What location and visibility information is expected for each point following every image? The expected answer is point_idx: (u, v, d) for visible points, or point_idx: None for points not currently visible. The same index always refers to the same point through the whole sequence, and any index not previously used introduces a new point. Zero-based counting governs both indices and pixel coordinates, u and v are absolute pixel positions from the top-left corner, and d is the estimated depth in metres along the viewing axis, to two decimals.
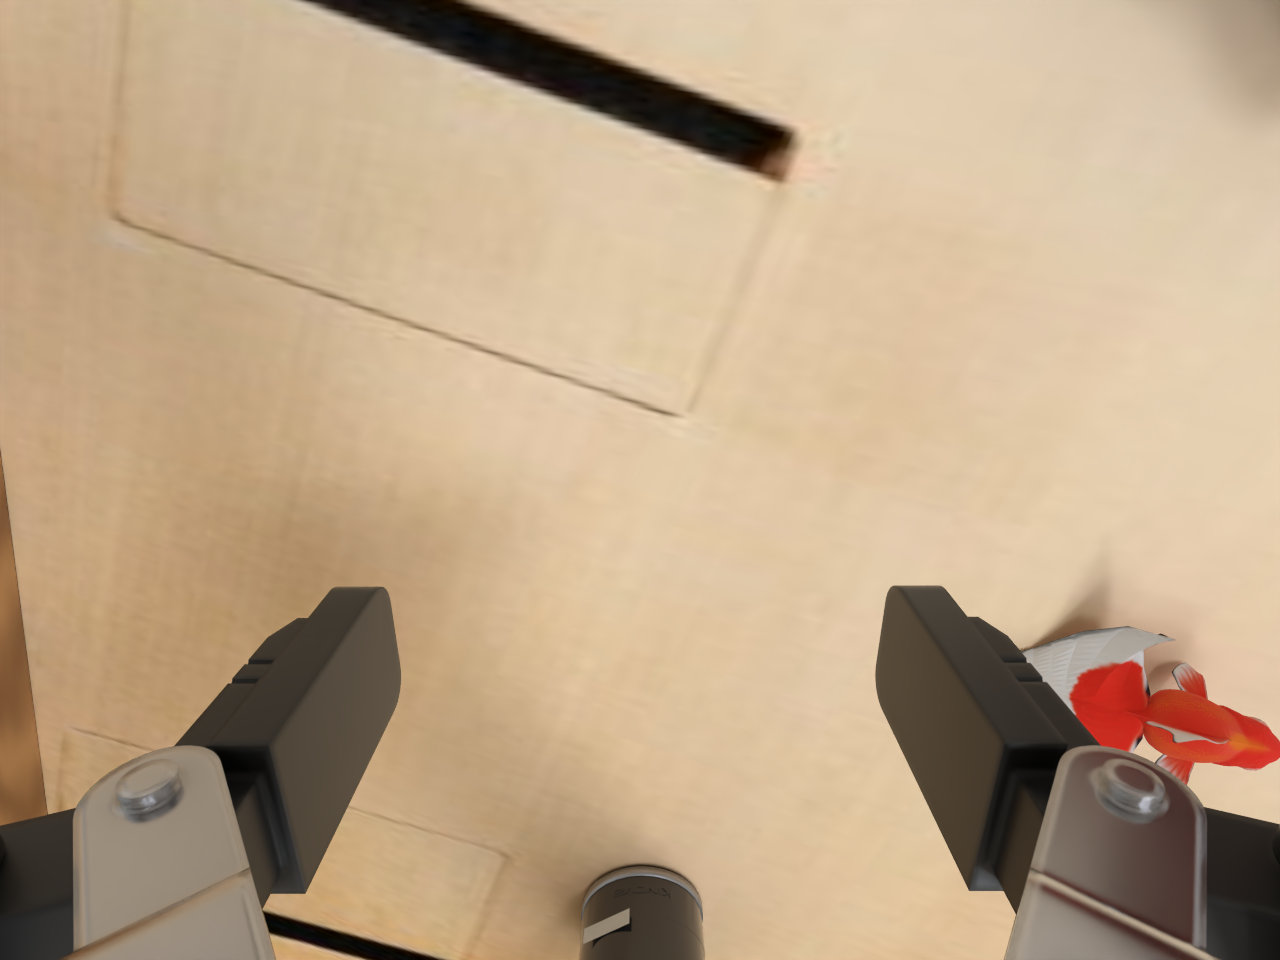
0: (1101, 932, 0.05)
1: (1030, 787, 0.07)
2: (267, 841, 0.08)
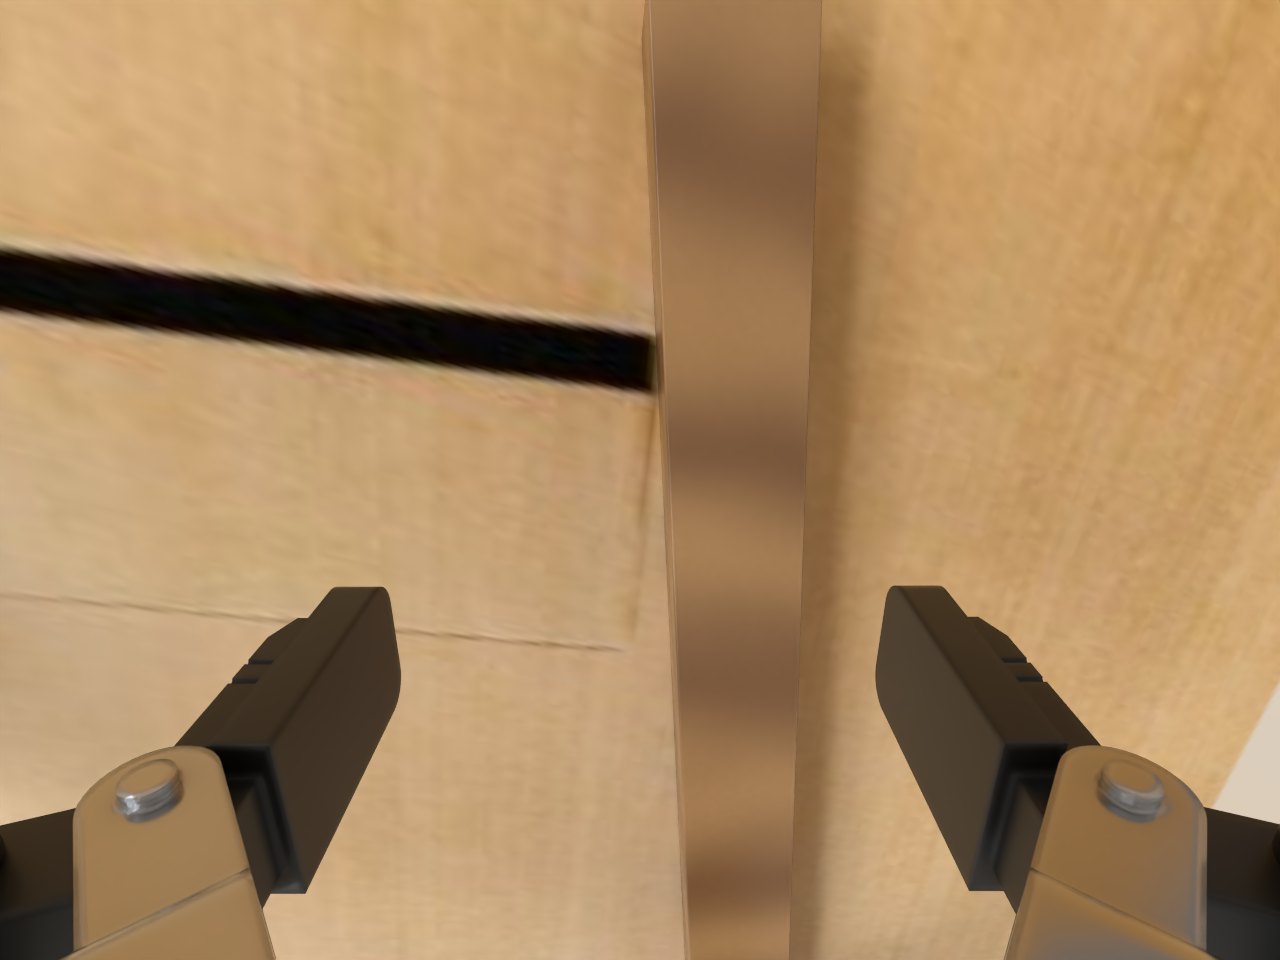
0: (1101, 932, 0.05)
1: (1030, 787, 0.07)
2: (268, 839, 0.08)
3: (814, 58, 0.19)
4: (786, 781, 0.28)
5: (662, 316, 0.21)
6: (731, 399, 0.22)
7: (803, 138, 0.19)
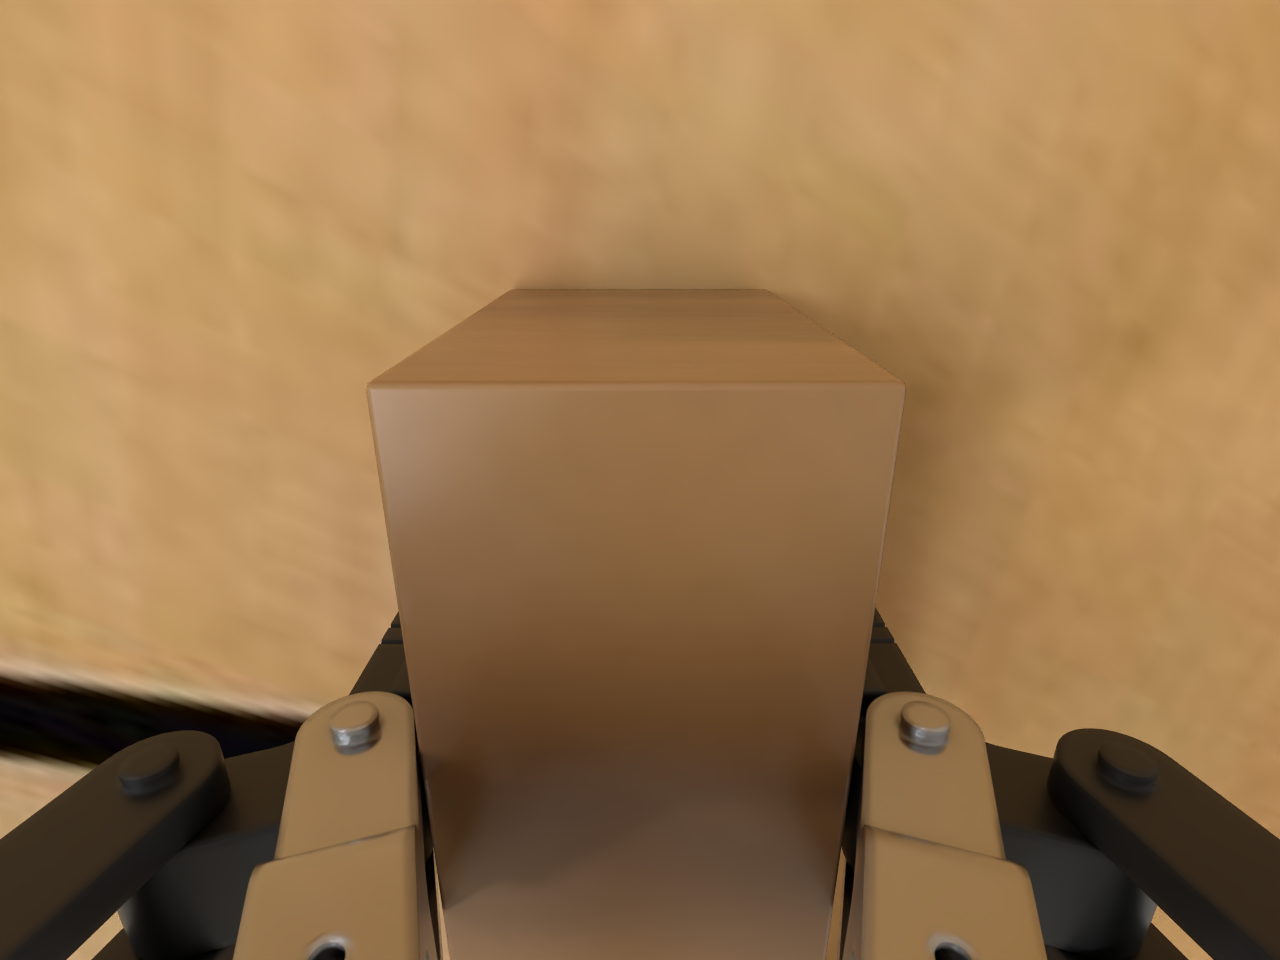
0: (932, 870, 0.05)
1: None
2: None
3: (863, 595, 0.07)
4: None
5: None
6: None
7: (818, 755, 0.07)
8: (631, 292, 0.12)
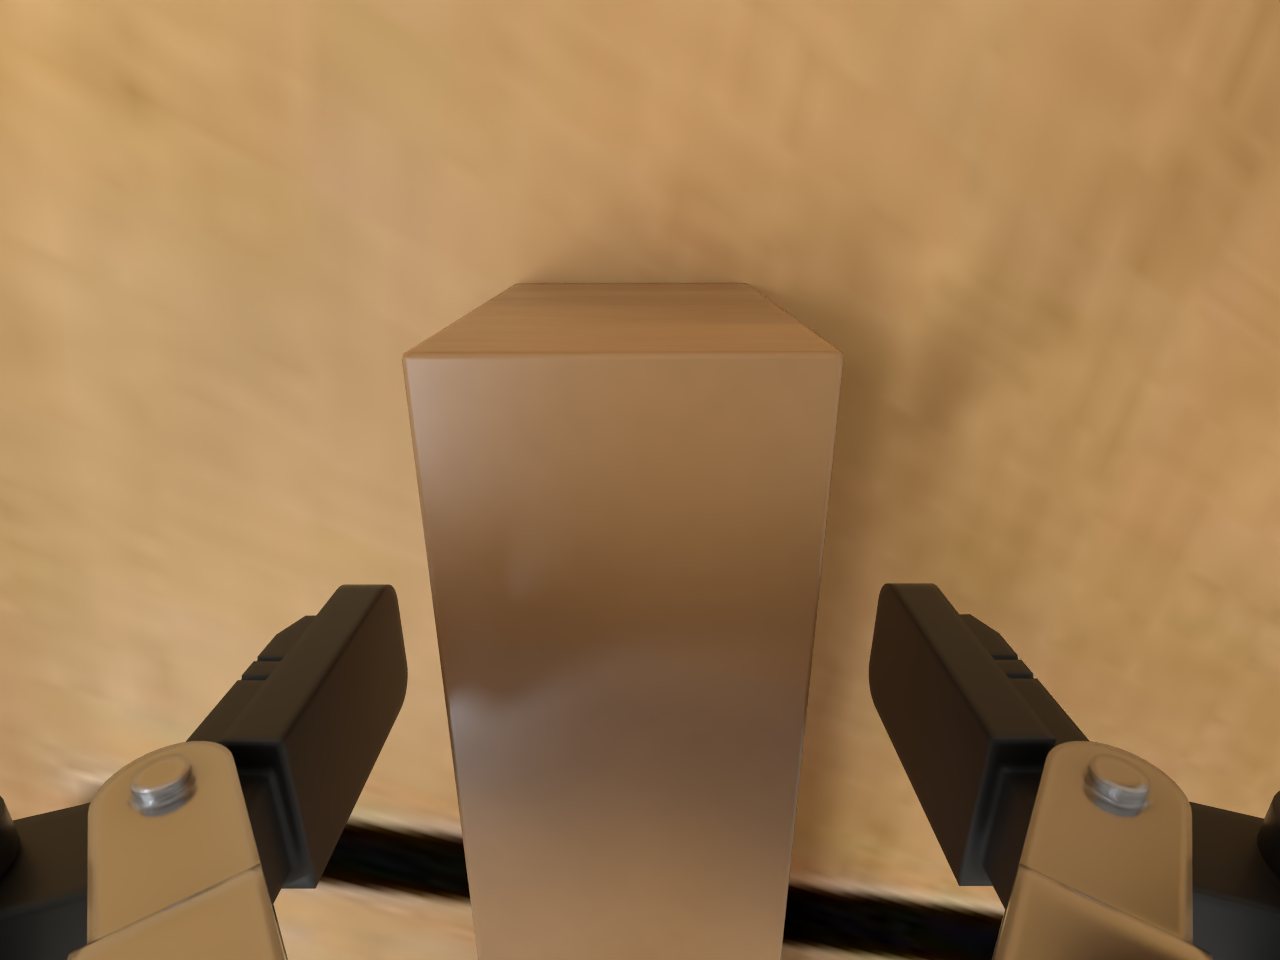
0: (1090, 926, 0.05)
1: (1019, 782, 0.07)
2: (279, 835, 0.08)
3: (812, 533, 0.08)
4: None
5: (476, 934, 0.10)
6: None
7: (779, 673, 0.09)
8: (624, 285, 0.13)
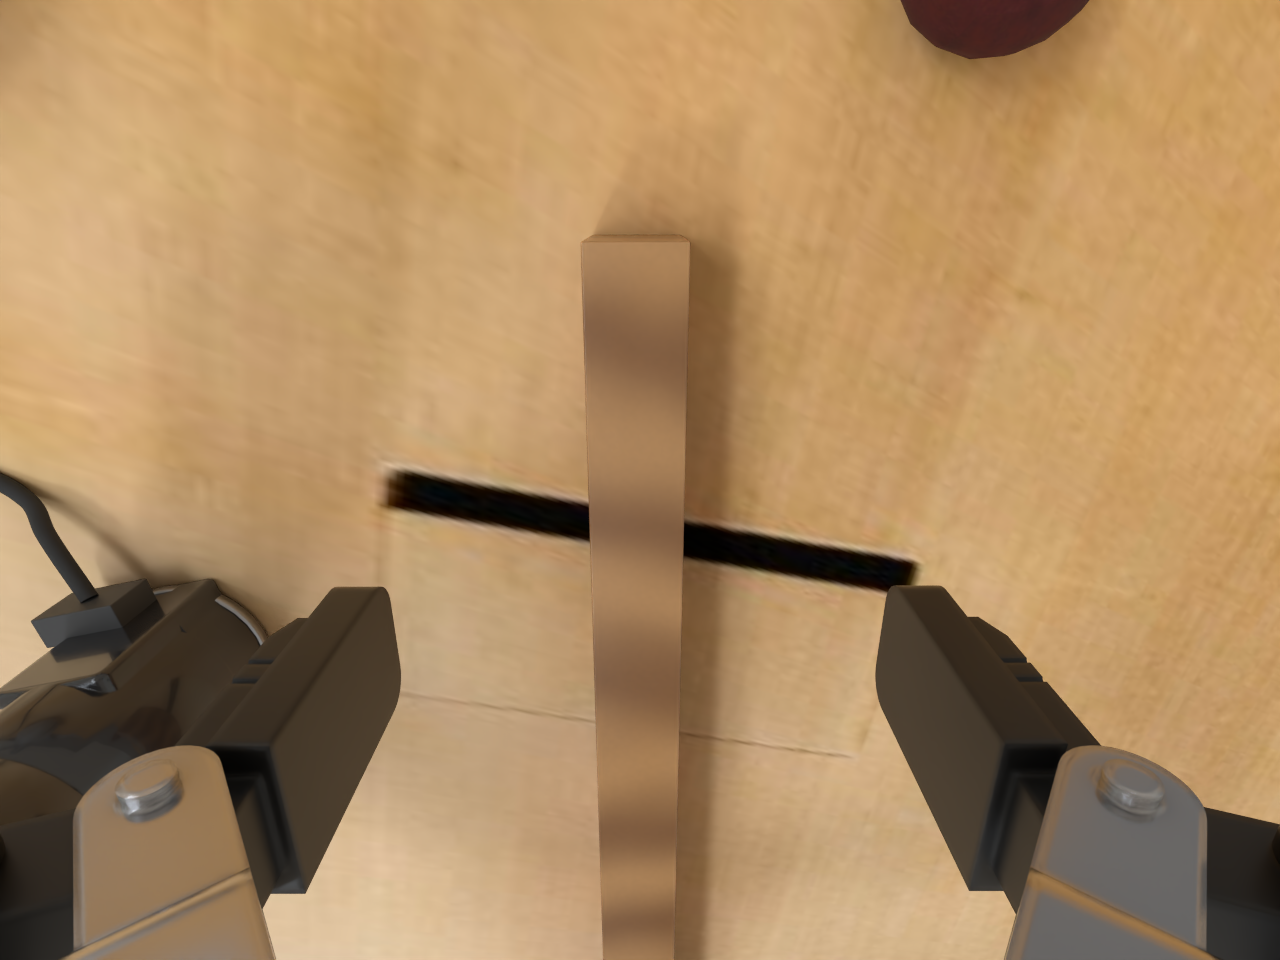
0: (1101, 932, 0.05)
1: (1030, 787, 0.07)
2: (268, 839, 0.08)
3: (685, 291, 0.30)
4: (672, 757, 0.39)
5: (587, 438, 0.32)
6: (632, 492, 0.33)
7: (679, 336, 0.30)
8: (634, 235, 0.35)
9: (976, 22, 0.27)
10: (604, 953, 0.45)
